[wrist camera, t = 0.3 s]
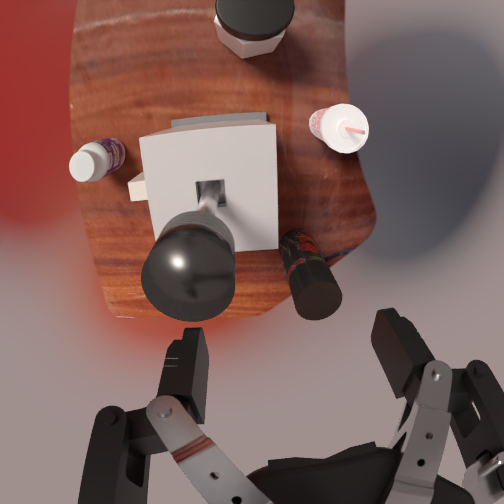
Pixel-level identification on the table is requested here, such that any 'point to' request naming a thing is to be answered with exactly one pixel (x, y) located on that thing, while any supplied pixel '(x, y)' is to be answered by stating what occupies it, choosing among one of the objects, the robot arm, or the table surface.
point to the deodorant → (309, 276)
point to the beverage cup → (340, 127)
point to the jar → (252, 24)
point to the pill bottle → (97, 159)
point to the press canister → (214, 174)
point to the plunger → (193, 261)
